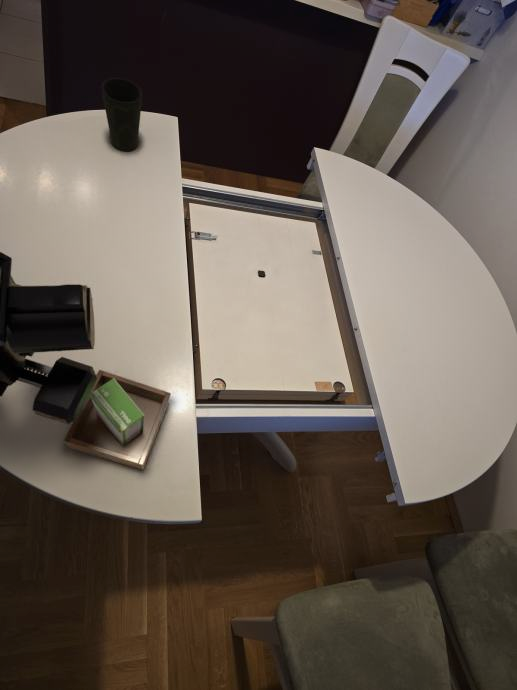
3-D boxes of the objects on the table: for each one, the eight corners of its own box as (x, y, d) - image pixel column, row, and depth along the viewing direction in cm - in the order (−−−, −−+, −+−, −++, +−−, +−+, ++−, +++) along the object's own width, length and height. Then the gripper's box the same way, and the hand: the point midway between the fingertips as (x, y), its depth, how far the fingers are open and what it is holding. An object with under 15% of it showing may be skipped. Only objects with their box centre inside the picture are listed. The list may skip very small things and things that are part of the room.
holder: (69, 447, 58) (63, 441, 54) (102, 380, 64) (99, 369, 60) (143, 470, 60) (143, 465, 55) (168, 402, 65) (170, 393, 61)
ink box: (145, 430, 61) (145, 407, 50) (123, 447, 59) (118, 427, 48) (118, 397, 62) (112, 366, 51) (95, 413, 60) (84, 384, 49)
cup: (104, 130, 87) (98, 75, 77) (139, 131, 90) (138, 78, 79) (109, 155, 84) (104, 102, 74) (145, 155, 87) (145, 104, 77)
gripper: (112, 301, 39) (120, 361, 53) (-81, 233, 37) (-20, 313, 50) (58, 403, 34) (83, 440, 47) (-171, 330, 31) (-76, 391, 45)
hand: (19, 393), depth 48 cm, fingers open, 9 cm apart
